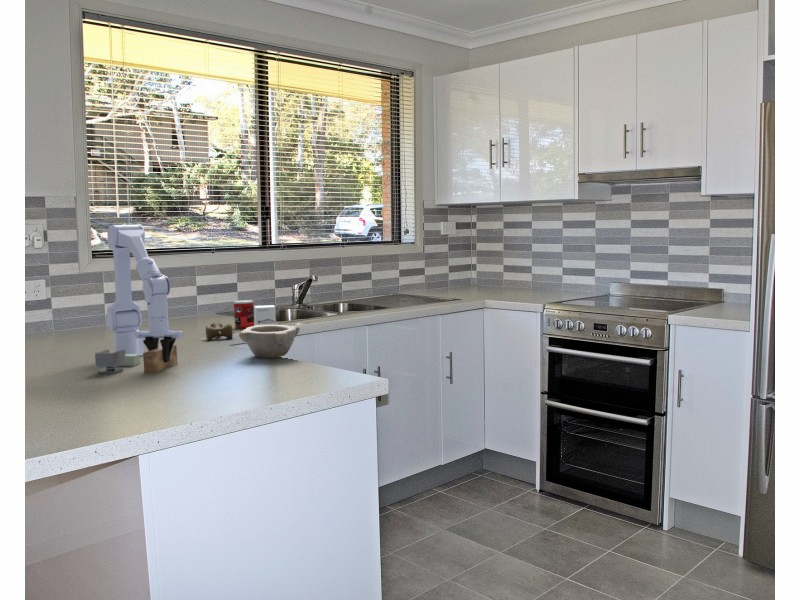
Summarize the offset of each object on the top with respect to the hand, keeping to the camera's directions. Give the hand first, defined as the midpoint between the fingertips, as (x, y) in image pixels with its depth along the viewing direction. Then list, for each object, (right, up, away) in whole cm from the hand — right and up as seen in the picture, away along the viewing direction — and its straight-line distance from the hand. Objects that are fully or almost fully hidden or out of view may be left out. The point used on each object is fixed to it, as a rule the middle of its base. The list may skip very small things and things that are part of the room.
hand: (161, 361), depth 214 cm
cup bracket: (-14, -3, -3) cm, 14 cm away
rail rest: (-12, -2, +7) cm, 14 cm away
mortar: (+30, 0, +16) cm, 34 cm away
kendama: (+3, +4, +56) cm, 56 cm away
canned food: (+7, +7, +82) cm, 82 cm away
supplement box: (+23, +4, +48) cm, 53 cm away
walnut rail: (0, -2, 0) cm, 2 cm away
